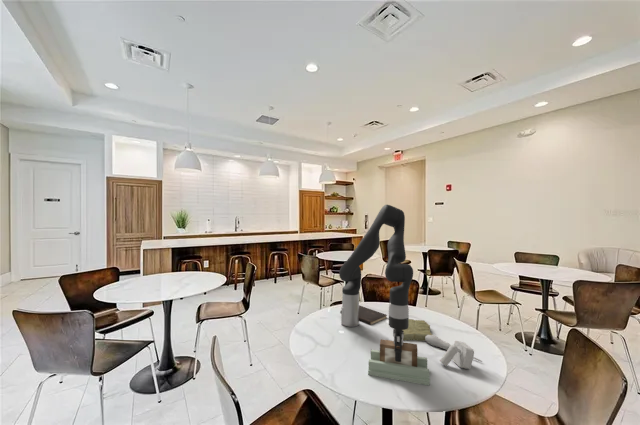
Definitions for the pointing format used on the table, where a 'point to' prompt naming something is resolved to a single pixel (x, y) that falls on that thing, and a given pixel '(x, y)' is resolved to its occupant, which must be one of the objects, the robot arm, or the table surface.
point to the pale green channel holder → (399, 370)
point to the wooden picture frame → (406, 356)
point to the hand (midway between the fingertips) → (398, 355)
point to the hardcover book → (369, 315)
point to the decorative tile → (417, 330)
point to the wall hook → (459, 355)
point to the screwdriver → (439, 343)
